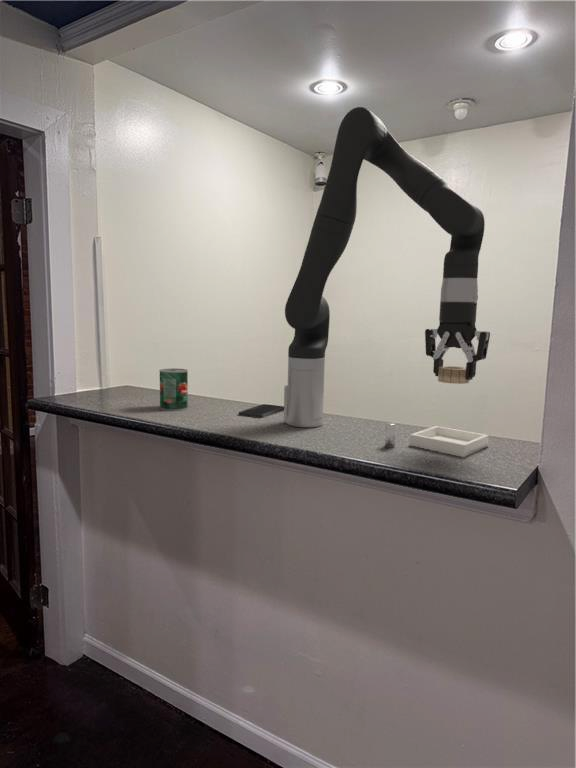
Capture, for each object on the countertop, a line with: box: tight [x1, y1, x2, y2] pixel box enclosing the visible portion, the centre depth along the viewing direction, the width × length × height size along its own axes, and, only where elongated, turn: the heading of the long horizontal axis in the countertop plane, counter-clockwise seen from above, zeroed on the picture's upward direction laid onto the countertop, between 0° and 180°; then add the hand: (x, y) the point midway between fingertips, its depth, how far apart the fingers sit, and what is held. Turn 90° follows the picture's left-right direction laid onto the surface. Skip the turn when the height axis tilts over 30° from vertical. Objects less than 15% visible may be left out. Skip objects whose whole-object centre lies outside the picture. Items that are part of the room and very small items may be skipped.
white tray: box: [408, 425, 490, 458], centre depth 119 cm, size 13×13×2 cm
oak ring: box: [437, 365, 470, 385], centre depth 117 cm, size 6×6×3 cm
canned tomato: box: [158, 368, 189, 412], centre depth 154 cm, size 8×8×11 cm
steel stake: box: [384, 422, 397, 448], centre depth 118 cm, size 2×2×5 cm
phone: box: [238, 403, 284, 419], centre depth 152 cm, size 8×1×15 cm
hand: (453, 377), depth 117 cm, fingers closed on oak ring, 6 cm apart
